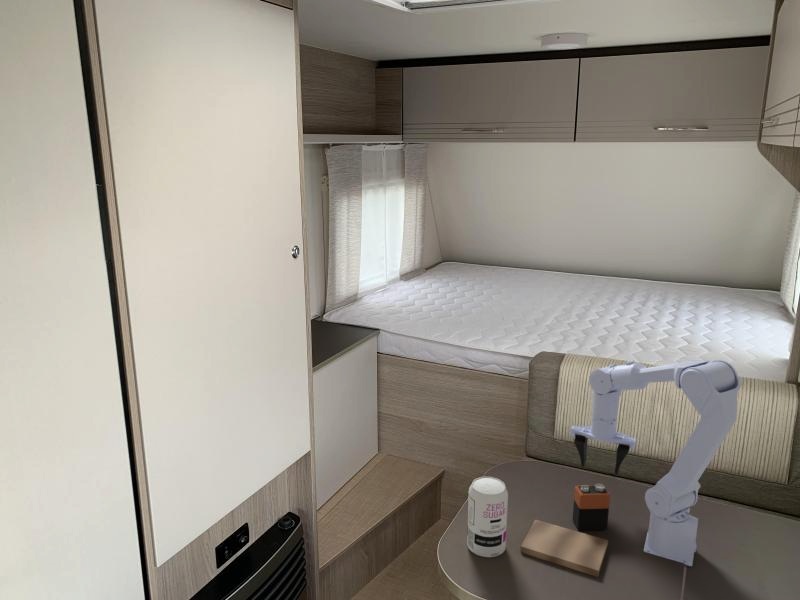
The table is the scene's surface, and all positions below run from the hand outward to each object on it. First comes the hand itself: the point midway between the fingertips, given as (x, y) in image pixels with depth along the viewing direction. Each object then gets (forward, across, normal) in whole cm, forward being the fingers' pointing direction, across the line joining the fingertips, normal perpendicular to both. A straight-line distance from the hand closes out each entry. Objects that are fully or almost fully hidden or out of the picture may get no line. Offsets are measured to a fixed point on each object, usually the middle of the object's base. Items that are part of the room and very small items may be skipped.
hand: (599, 468), depth 142 cm
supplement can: (+10, +18, +29) cm, 35 cm away
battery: (+10, 0, +10) cm, 14 cm away
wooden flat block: (+9, +3, +21) cm, 24 cm away
